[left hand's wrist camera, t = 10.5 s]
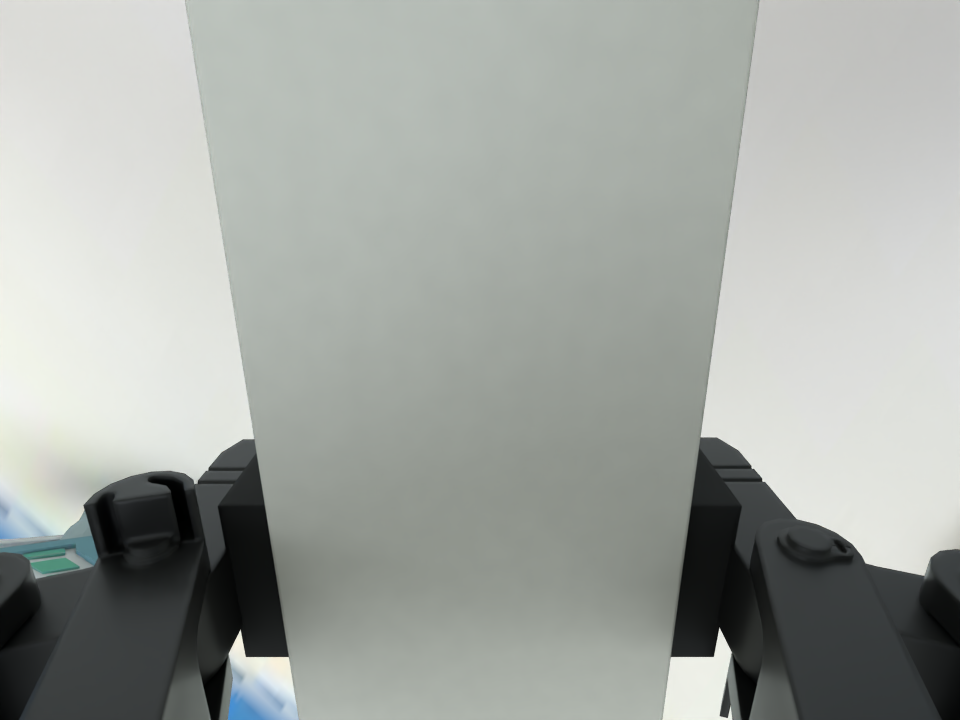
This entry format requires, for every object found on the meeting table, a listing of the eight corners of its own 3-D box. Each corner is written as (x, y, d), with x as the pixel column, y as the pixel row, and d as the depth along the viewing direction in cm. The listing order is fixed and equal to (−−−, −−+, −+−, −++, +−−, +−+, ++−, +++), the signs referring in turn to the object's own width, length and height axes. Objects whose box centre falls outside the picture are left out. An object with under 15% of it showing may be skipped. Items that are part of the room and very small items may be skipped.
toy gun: (-138, 497, 29) (-202, 659, 22) (255, 464, 40) (299, 562, 33) (-133, 554, 30) (-191, 726, 23) (247, 506, 42) (288, 610, 34)
